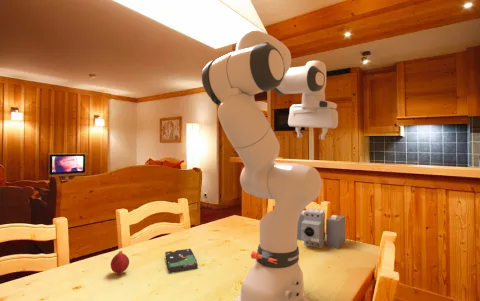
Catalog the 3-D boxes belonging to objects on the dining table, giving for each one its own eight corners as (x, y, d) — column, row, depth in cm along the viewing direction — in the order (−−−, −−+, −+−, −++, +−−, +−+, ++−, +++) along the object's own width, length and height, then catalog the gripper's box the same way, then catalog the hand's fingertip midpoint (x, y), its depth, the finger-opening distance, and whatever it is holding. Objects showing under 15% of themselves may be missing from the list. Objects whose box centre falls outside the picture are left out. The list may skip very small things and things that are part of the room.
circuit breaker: (300, 249, 111) (300, 214, 111) (308, 239, 123) (308, 208, 123) (318, 253, 107) (318, 216, 107) (325, 242, 120) (325, 209, 119)
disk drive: (164, 258, 103) (169, 275, 90) (164, 251, 104) (168, 266, 90) (190, 254, 107) (198, 269, 94) (190, 248, 107) (198, 261, 94)
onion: (117, 279, 86) (117, 255, 86) (107, 275, 88) (106, 252, 88) (132, 272, 91) (132, 249, 91) (122, 268, 94) (121, 246, 93)
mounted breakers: (337, 248, 111) (337, 218, 111) (295, 238, 124) (295, 211, 124) (345, 242, 119) (345, 213, 119) (304, 233, 132) (304, 207, 132)
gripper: (286, 104, 107) (284, 137, 109) (334, 102, 94) (331, 140, 95) (294, 105, 112) (292, 137, 113) (341, 104, 98) (338, 140, 100)
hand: (310, 138), depth 104 cm, fingers open, 8 cm apart
